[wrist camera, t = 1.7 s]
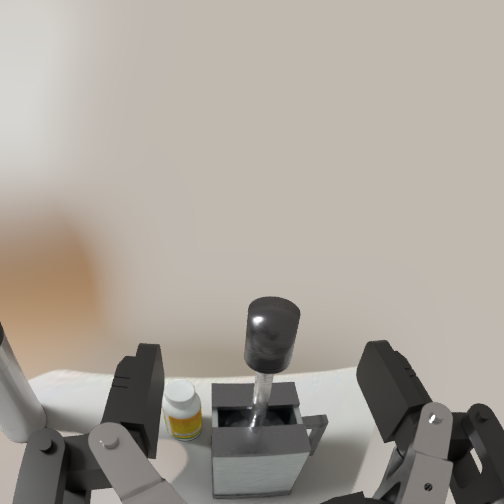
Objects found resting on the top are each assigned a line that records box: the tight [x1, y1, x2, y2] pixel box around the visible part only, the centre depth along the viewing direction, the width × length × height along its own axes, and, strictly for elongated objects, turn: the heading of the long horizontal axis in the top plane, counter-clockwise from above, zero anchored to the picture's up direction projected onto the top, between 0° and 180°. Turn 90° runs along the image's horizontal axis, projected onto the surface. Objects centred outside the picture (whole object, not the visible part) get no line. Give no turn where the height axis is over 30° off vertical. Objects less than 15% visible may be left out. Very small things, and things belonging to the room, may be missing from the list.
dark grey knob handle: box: [224, 297, 300, 427], centre depth 28 cm, size 7×7×18 cm
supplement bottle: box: [162, 379, 202, 441], centre depth 39 cm, size 5×5×10 cm
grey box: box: [211, 382, 328, 498], centre depth 33 cm, size 13×10×14 cm
